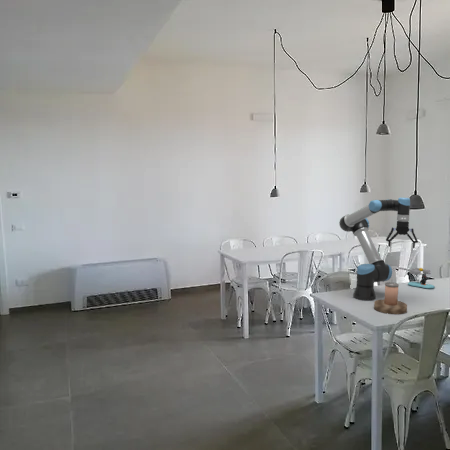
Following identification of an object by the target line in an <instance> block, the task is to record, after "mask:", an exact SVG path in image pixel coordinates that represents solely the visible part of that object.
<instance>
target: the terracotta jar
mask: <svg viewBox="0 0 450 450" xmlns="http://www.w3.org/2000/svg"><path fill="white" fill-rule="evenodd" d="M399 286H400V285H399V283H397V282H391V281H390V282H387V281H386V282H385V283H384V303H385V304H387V305H397V302H398V301H399V300H398V299H399Z"/></svg>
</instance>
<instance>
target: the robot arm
mask: <svg viewBox="0 0 450 450" xmlns="http://www.w3.org/2000/svg"><path fill="white" fill-rule="evenodd" d="M410 210H411V199H410V198H409V197H398V199H389V198H387V199H373V200H371V201H369V203H368V204H367V205H366V206H364V207H362V208H360V209H358V210H356V211H354V212H352V213H350V214H345V215H344V216H342V217H341V218H340V219H339V223H338V224H339V227H340V229H341V230H343V231H344V232H352V234H353V236H355V237H356V238H357V240H358V243H359V245H360V246H361V249H362V251H363V253H364V255H365V257H366V259H367V262H368V263H363V264H359V265H358V266H357V269H356V287H355V289H354V292H353V298H354V299H356V300H360V301H376V298H377V294H376V291H375V287H374V286H375V283H381V282H383V283H384V282H387V281H389V280H390V279H391V278H392V276H393V269H392V266H391V265H390V264H387V263H386V262H385V260H384V259H381V256H380V255H379V253H378V251H377V248H376V246H375V244H374V243H373V240H372V238H371V236H370V233H369V232H368V231H369V228H370V221H369V219H368V218H369V217H371V216H373V215H375V214H377V213H379V212H390V211H391V212H397V214H396V215H397V217H396V220H397V221H396V227H391V229H390V232H389V233H388V235H387V236H386V239H385V241H386V242H388V243H387V245H388V246H387V247H389V252H390V253H392V240H394V239H395V238H396V237H397V236H398V235H399V236H401V235H403V236H407V237H408V239H410V241H411V245H410V248H411V249H410V253H411V254H413V253H414V252H413V251H414V249H416V247H415V246H416V244H417V243H419V241H418V238H417V236H416V234H415V232H414V231H415V230H414V228H413V227H412V228H409V227H410V222H409V221H410ZM395 231H396V232H395ZM393 232H395V233H394V234H393ZM408 232H410V233H411V234H412V236H413V238H412V236H411V235H410V234H409V233H408ZM392 234H393V235H392Z"/></svg>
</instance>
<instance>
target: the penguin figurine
mask: <svg viewBox="0 0 450 450" xmlns="http://www.w3.org/2000/svg"><path fill="white" fill-rule="evenodd" d="M408 271H409V274H412V275H414V276H416V277H417V278H420V277H419V276H421V278H420V279H417V281H409V282H408V283H407V285H408V286H412V287H415V288H418V287H419V288H421V289H422V288H423V289H434V288H436V286H435V285H433V284H429V283H427V280H428V278H427V275H431V270H430V269H426V268H422V267H414V268H409V269H408ZM416 277H415V278H414V279H416Z"/></svg>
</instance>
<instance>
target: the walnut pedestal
mask: <svg viewBox="0 0 450 450" xmlns="http://www.w3.org/2000/svg"><path fill="white" fill-rule="evenodd" d="M384 299H385V298H384ZM384 299H377V300H376V299H375V300H374V302H373V303H374V304H373V309H374V310H375V311H377V312H379V313H382V314H387V313H388V315H403V314H407V312H408V304H407V303H406V302H404V301H401V300H398V302H397V305H387V304H385V303H384Z"/></svg>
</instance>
